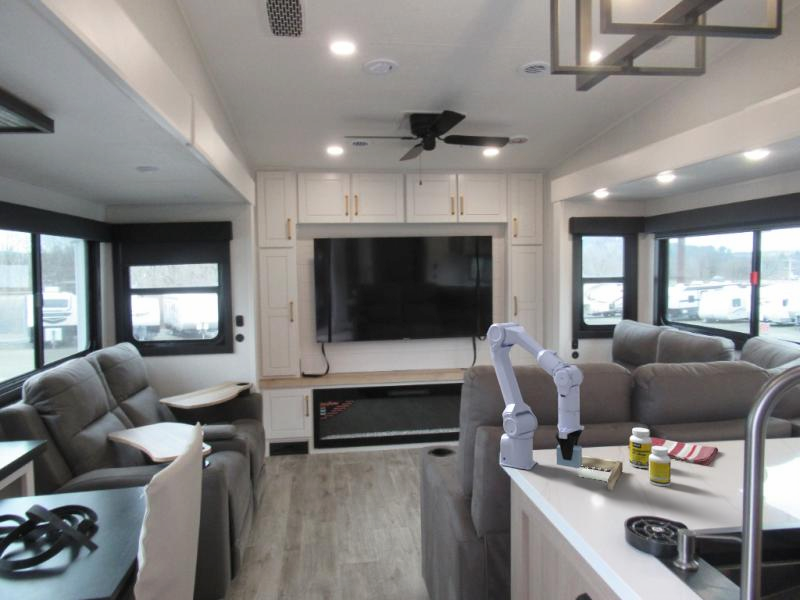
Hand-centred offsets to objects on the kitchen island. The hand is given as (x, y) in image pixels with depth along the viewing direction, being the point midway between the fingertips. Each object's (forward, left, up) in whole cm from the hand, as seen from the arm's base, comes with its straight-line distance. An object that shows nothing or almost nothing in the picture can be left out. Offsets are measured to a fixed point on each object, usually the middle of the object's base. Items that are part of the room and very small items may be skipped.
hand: (569, 457), depth 143 cm
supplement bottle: (+22, +10, -7) cm, 25 cm away
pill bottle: (+16, +22, -7) cm, 28 cm away
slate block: (0, 0, -2) cm, 2 cm away
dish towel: (+23, +41, -7) cm, 48 cm away
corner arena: (+4, +6, -7) cm, 10 cm away
